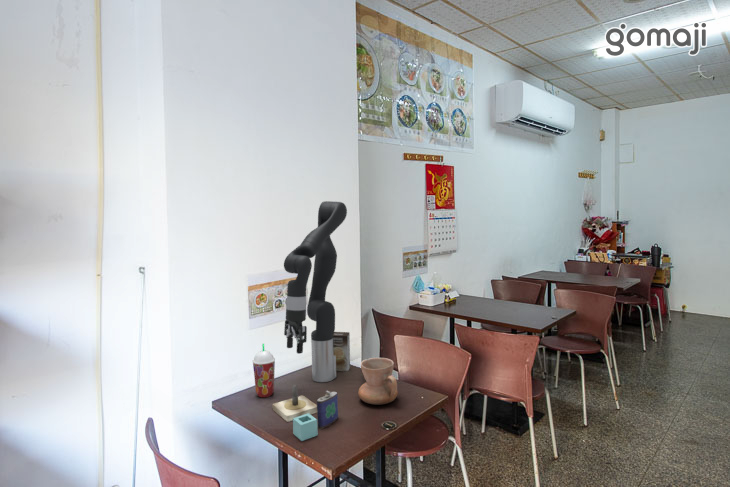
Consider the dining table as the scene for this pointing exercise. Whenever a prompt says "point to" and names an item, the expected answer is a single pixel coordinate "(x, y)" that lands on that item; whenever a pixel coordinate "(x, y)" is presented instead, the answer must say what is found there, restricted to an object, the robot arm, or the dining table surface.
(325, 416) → the flask
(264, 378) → the smoothie
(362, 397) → the ceramic jug
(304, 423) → the teal hollow block
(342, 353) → the coffee box
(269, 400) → the dining table surface
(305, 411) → the shaft stand
